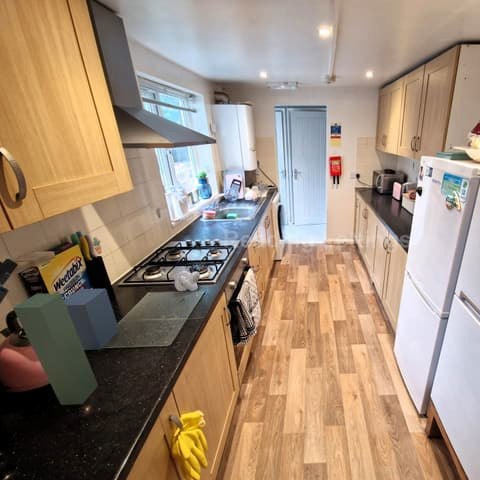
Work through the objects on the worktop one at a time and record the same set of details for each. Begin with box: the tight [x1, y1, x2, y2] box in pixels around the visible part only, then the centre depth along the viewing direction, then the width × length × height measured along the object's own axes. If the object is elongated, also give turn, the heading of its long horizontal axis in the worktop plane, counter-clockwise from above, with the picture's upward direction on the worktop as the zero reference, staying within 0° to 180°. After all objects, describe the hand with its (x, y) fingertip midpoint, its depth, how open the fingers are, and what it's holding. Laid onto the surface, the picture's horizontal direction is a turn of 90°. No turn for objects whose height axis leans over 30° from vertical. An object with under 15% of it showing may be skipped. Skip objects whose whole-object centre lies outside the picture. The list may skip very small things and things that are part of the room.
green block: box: [12, 293, 99, 406], centre depth 72 cm, size 6×6×34 cm
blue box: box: [63, 288, 120, 351], centre depth 95 cm, size 9×10×20 cm
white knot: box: [173, 270, 201, 292], centre depth 132 cm, size 11×12×9 cm
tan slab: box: [9, 251, 57, 278], centre depth 70 cm, size 18×5×2 cm, turn 3°
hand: (5, 262), depth 68 cm, fingers closed on tan slab, 2 cm apart
